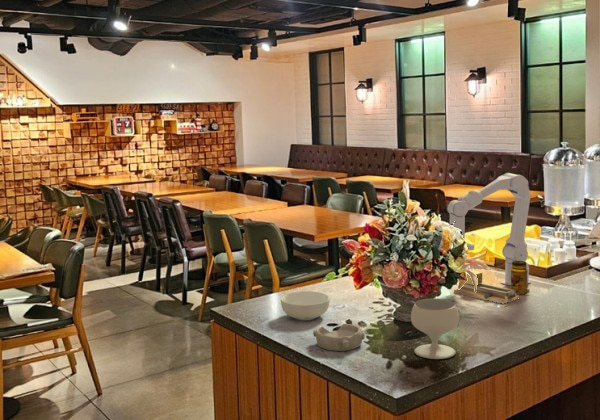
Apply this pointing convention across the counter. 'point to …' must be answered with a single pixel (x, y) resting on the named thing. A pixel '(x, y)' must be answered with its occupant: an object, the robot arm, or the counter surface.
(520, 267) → the condiment
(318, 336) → the dish
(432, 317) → the chalice
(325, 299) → the cereal bowl
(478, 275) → the pale yellow cube
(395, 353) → the counter surface
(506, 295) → the wooden tray
